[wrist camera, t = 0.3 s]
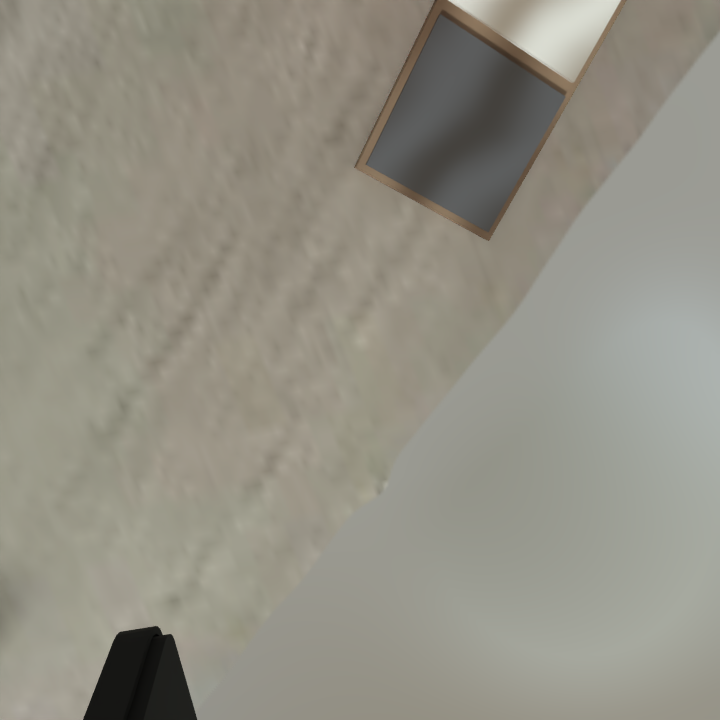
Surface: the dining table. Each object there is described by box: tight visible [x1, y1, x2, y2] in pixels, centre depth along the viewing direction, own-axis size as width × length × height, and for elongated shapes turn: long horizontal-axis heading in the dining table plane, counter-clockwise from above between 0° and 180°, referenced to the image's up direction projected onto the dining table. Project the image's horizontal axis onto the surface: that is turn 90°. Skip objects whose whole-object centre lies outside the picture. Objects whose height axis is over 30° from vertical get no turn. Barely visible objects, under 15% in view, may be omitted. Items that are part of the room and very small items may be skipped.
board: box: [354, 0, 627, 241], centre depth 36 cm, size 11×22×1 cm, turn 153°
